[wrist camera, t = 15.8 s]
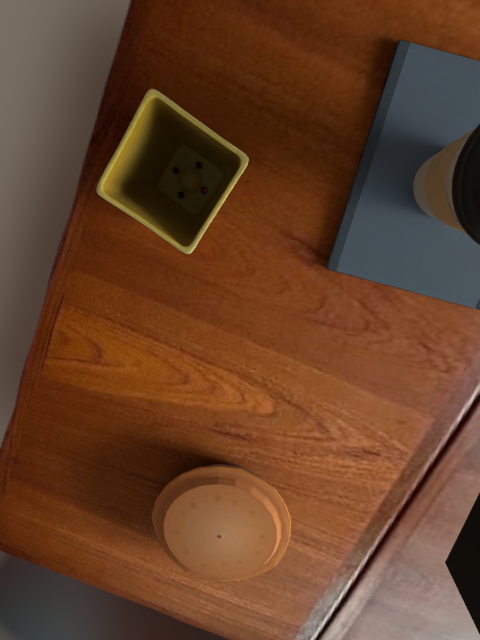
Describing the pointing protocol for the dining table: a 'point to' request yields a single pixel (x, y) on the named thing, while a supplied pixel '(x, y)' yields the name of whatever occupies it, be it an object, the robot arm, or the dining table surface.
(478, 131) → the coffee cup
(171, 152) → the flower pot
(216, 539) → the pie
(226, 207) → the dining table surface
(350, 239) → the cup mat
